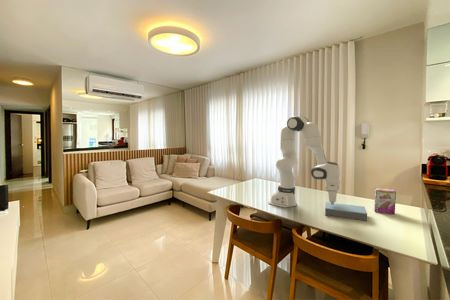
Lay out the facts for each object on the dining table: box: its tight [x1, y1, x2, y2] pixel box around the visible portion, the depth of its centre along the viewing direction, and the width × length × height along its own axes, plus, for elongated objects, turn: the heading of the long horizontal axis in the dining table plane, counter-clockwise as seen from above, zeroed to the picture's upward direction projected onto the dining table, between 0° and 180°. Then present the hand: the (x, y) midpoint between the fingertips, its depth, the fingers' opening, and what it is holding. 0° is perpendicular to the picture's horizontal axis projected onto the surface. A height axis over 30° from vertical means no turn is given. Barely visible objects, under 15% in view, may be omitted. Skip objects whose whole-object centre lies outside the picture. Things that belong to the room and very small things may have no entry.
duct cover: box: [324, 201, 368, 216], centre depth 140 cm, size 24×13×1 cm, turn 62°
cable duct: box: [324, 208, 368, 223], centre depth 139 cm, size 24×12×4 cm, turn 62°
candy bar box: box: [373, 187, 397, 215], centre depth 141 cm, size 11×5×16 cm, turn 59°
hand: (332, 204), depth 141 cm, fingers closed
